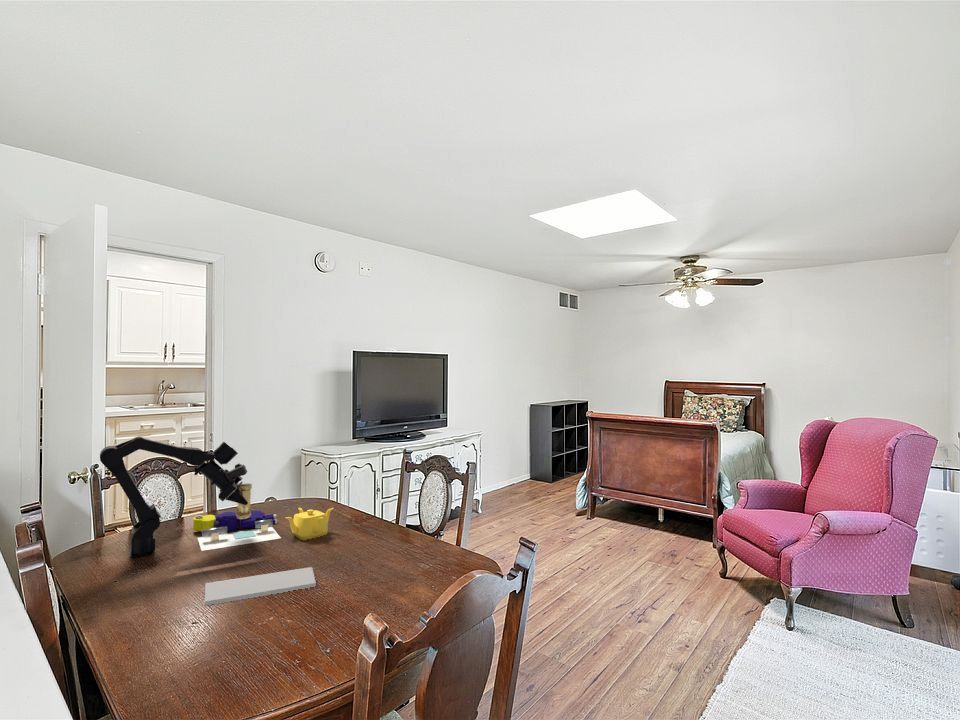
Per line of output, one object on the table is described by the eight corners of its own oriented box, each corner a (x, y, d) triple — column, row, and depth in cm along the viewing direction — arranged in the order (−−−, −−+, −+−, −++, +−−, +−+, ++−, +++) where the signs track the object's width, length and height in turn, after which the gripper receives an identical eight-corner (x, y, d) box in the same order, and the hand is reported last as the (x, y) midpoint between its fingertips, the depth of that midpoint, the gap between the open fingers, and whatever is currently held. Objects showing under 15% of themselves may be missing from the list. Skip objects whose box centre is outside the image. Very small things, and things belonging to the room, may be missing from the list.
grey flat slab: (204, 608, 137) (204, 594, 137) (205, 590, 148) (205, 578, 148) (316, 588, 150) (316, 576, 150) (309, 574, 161) (309, 562, 161)
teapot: (333, 529, 204) (333, 505, 204) (323, 541, 190) (324, 515, 190) (296, 529, 204) (297, 505, 204) (284, 541, 189) (284, 515, 190)
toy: (273, 525, 214) (191, 530, 198) (274, 508, 214) (193, 511, 199) (278, 532, 204) (192, 538, 188) (280, 514, 204) (194, 518, 189)
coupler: (237, 519, 187) (237, 487, 187) (235, 516, 191) (236, 484, 191) (251, 517, 190) (252, 485, 190) (249, 514, 194) (250, 482, 194)
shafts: (202, 543, 182) (202, 531, 182) (201, 539, 186) (201, 527, 186) (273, 532, 195) (273, 521, 195) (270, 528, 200) (270, 517, 200)
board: (201, 554, 175) (201, 550, 175) (197, 541, 188) (197, 537, 188) (281, 541, 189) (281, 537, 189) (271, 529, 202) (272, 526, 202)
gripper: (229, 462, 181) (262, 491, 184) (236, 454, 198) (266, 481, 202) (204, 486, 178) (238, 515, 181) (213, 475, 196) (244, 502, 199)
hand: (248, 502), depth 191 cm, fingers closed on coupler, 4 cm apart
